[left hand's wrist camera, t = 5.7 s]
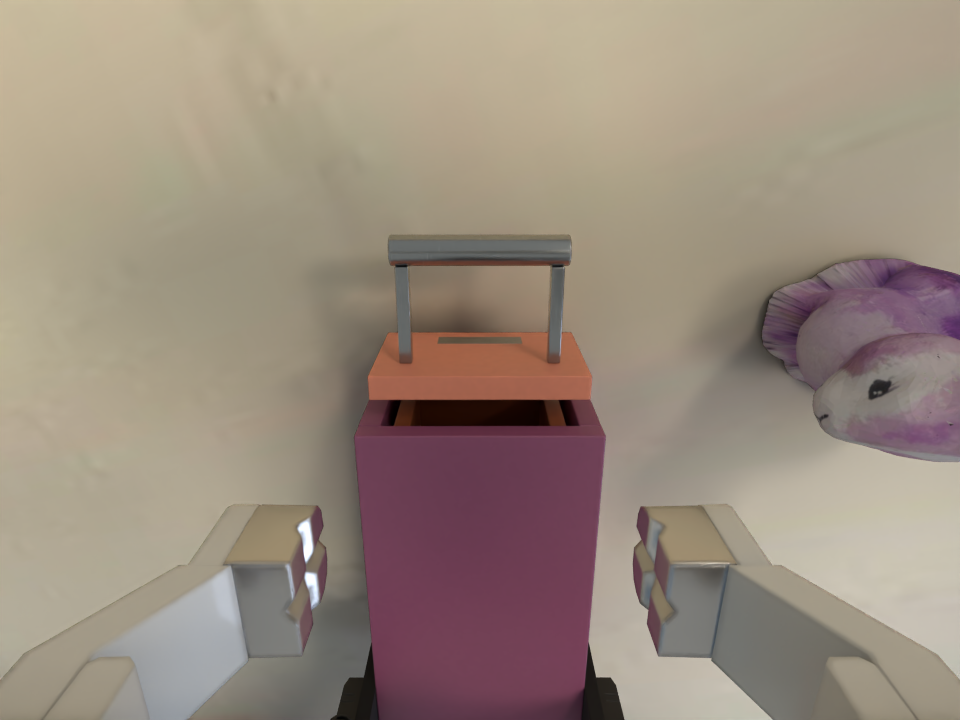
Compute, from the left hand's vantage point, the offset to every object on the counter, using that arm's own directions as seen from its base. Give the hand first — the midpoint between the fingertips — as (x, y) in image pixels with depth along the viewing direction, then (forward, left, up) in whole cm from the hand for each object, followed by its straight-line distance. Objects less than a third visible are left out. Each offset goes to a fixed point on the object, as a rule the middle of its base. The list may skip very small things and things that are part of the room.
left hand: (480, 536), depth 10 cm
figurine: (+3, +20, -23) cm, 31 cm away
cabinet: (+16, 0, -23) cm, 28 cm away
